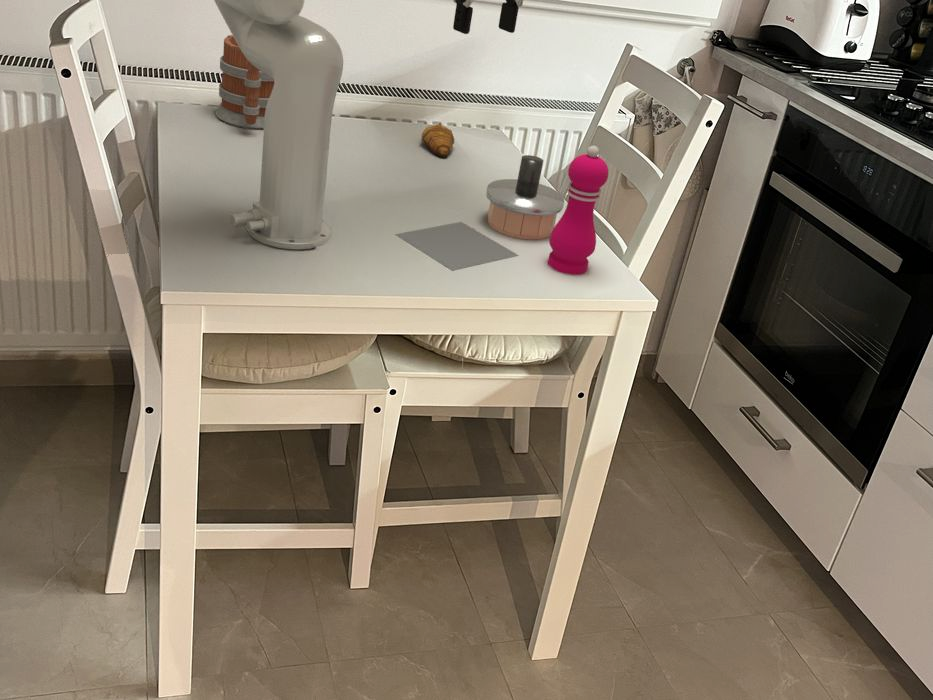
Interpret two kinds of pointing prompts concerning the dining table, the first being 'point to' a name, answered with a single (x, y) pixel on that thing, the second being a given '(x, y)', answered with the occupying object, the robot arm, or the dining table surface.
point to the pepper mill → (578, 215)
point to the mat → (456, 245)
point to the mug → (242, 89)
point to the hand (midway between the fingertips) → (483, 31)
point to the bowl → (520, 223)
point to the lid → (526, 191)
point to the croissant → (438, 139)
